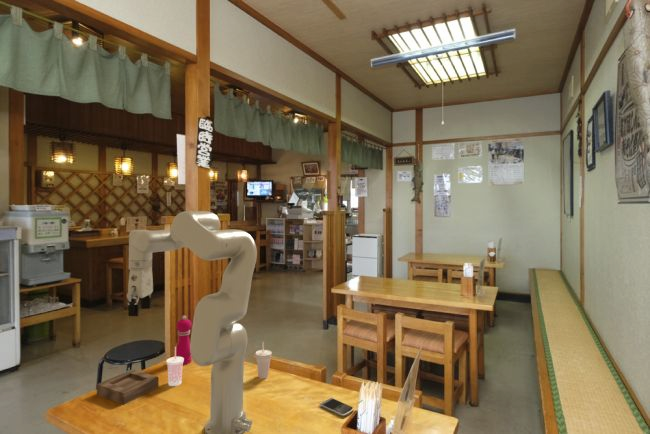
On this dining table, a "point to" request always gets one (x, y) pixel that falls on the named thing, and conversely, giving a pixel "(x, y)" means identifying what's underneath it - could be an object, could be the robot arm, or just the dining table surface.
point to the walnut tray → (127, 386)
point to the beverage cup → (175, 370)
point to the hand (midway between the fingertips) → (139, 312)
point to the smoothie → (263, 362)
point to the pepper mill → (184, 340)
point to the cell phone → (337, 407)
